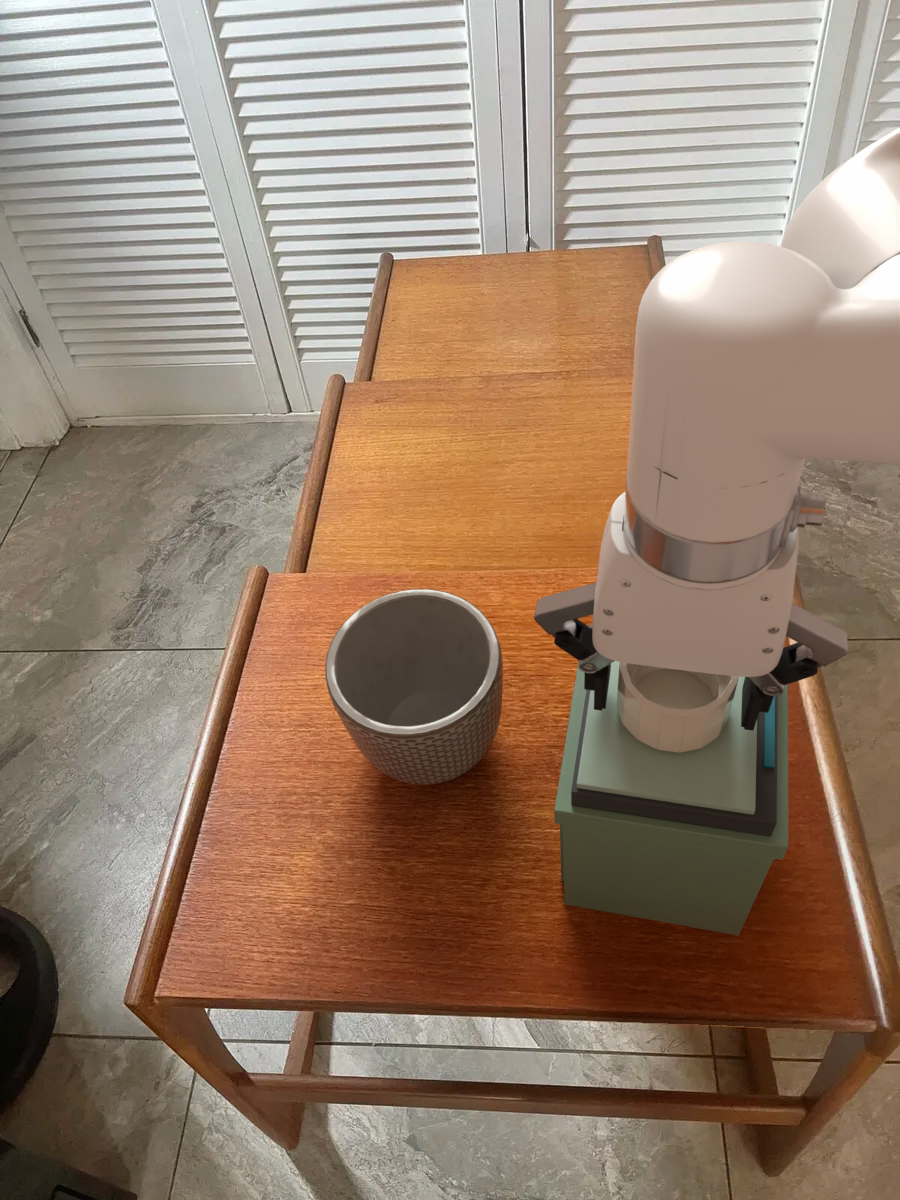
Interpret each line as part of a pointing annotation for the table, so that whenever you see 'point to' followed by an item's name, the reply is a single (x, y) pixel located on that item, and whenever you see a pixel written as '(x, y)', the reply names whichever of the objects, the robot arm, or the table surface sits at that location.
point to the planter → (418, 684)
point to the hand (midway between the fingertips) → (673, 699)
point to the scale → (679, 770)
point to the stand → (664, 852)
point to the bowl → (673, 705)
